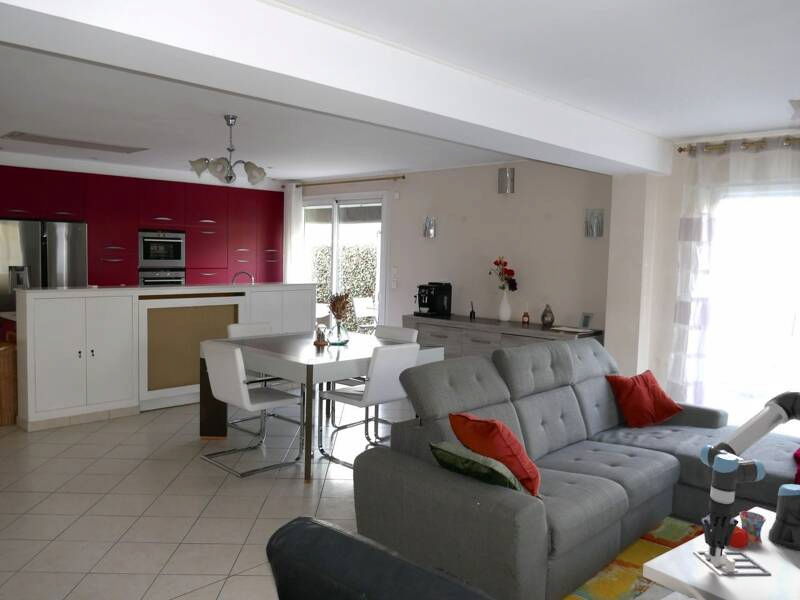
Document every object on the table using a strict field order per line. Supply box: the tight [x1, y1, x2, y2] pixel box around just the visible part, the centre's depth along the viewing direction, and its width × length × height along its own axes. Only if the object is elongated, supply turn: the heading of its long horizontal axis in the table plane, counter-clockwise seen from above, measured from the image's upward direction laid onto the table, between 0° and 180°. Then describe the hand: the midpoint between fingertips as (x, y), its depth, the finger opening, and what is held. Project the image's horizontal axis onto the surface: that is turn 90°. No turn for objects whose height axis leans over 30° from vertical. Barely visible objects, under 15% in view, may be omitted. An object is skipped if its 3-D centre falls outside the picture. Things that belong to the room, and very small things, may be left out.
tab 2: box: [719, 550, 728, 565], centre depth 230 cm, size 4×3×4 cm
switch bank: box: [692, 550, 772, 577], centre depth 230 cm, size 20×16×2 cm
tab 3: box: [720, 557, 739, 573], centre depth 225 cm, size 4×3×4 cm
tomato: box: [728, 525, 750, 549], centre depth 247 cm, size 9×9×8 cm
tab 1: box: [704, 545, 711, 558], centre depth 235 cm, size 4×3×4 cm
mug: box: [738, 510, 767, 544], centre depth 254 cm, size 12×9×11 cm
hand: (714, 564), depth 224 cm, fingers closed
